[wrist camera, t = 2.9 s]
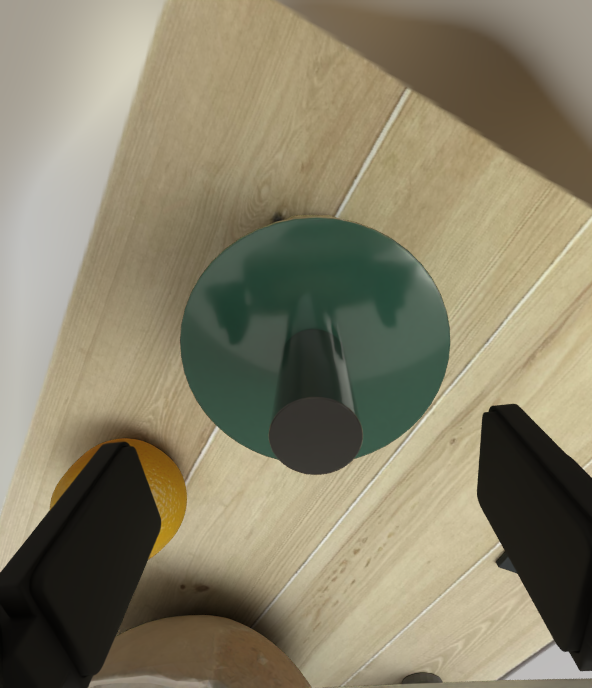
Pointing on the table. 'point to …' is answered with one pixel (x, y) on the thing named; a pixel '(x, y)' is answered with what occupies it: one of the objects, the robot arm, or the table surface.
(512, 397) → the table surface
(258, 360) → the lid
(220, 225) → the table surface
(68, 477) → the fruit
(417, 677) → the beverage cup
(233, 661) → the bowl
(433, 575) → the table surface
